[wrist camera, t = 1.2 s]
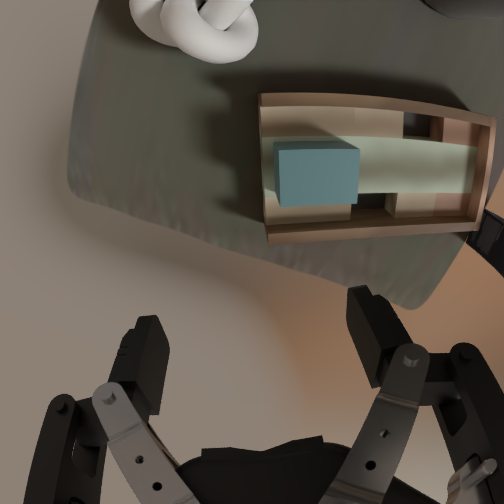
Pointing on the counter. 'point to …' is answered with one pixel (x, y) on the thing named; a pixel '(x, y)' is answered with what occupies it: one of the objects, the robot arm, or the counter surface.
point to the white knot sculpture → (200, 26)
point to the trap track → (381, 165)
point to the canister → (468, 8)
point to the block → (316, 173)
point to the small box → (489, 240)
